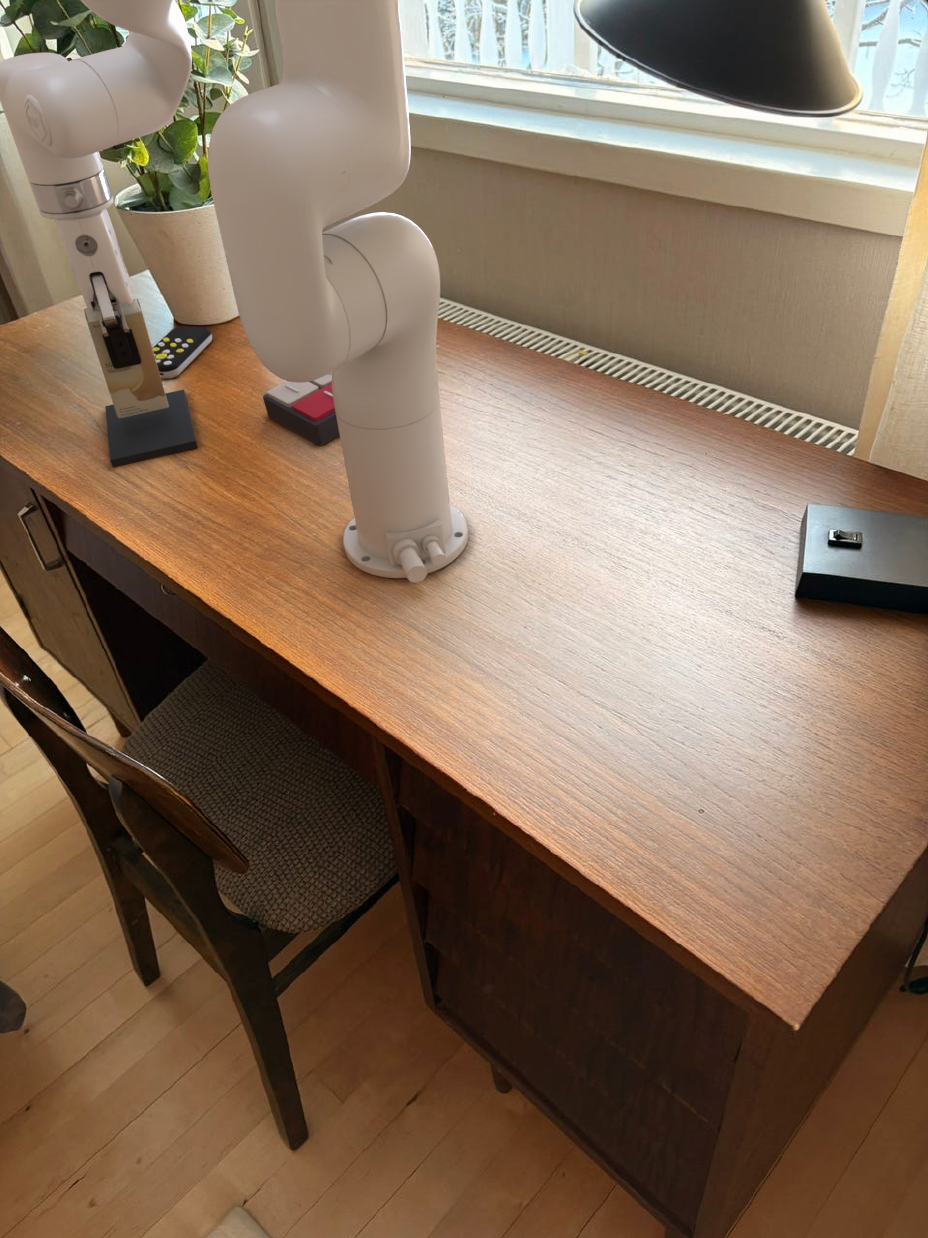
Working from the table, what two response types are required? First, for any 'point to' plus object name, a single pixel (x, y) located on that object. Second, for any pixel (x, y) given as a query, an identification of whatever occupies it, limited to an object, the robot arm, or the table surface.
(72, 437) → the table surface
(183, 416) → the desk pad
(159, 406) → the cosmetic box
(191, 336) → the remote control
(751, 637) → the table surface
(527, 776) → the table surface
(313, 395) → the calculator
